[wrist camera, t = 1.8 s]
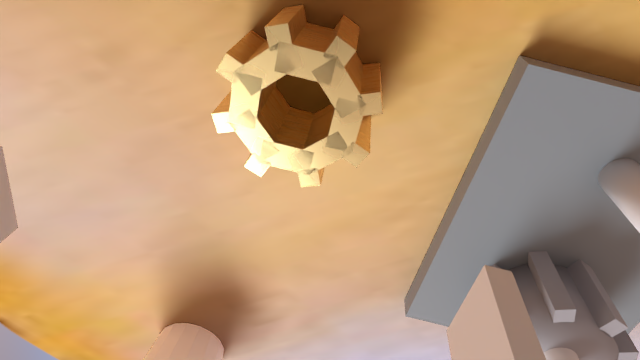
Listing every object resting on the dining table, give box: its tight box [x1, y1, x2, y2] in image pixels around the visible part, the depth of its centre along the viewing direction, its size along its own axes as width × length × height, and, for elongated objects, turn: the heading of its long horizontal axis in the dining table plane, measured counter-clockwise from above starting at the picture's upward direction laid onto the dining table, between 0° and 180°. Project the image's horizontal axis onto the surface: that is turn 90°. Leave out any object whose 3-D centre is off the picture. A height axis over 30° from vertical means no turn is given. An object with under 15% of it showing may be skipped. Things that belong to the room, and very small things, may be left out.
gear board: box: [405, 56, 640, 360], centre depth 23 cm, size 18×14×8 cm
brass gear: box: [212, 4, 383, 187], centre depth 21 cm, size 8×8×4 cm
